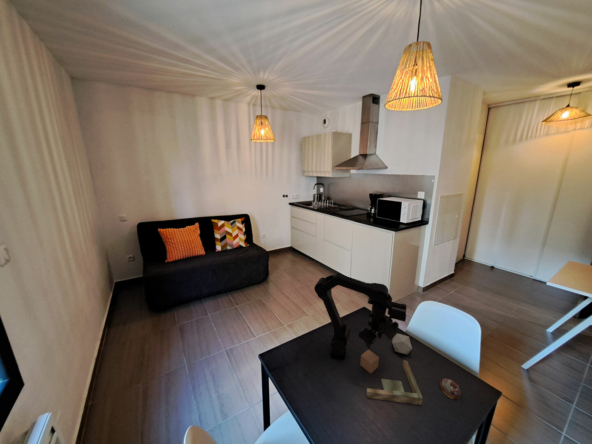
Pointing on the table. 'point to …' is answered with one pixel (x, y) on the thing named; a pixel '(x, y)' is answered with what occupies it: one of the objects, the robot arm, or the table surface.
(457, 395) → the pastry
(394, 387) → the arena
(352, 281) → the robot arm
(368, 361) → the cube
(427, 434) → the table surface
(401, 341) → the die
